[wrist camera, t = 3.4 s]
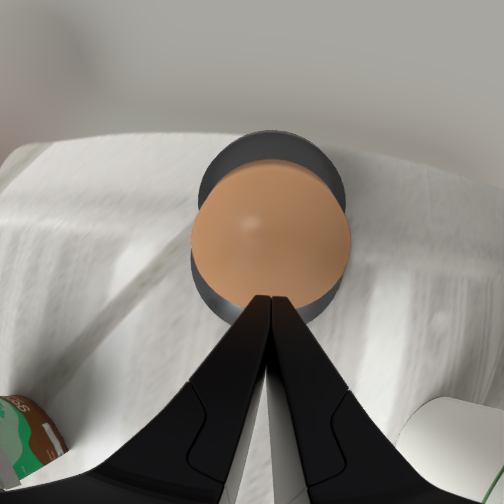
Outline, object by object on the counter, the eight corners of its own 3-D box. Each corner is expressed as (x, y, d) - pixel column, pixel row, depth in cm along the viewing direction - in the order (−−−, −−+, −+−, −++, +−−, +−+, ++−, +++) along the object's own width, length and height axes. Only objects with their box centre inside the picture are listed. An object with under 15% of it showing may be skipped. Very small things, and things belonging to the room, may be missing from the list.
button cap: (327, 316, 13) (369, 307, 8) (203, 308, 14) (166, 294, 8) (328, 208, 15) (359, 146, 9) (215, 200, 15) (194, 135, 10)
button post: (337, 336, 18) (390, 339, 10) (186, 326, 18) (137, 322, 10) (338, 195, 20) (374, 128, 13) (204, 187, 21) (177, 115, 13)
